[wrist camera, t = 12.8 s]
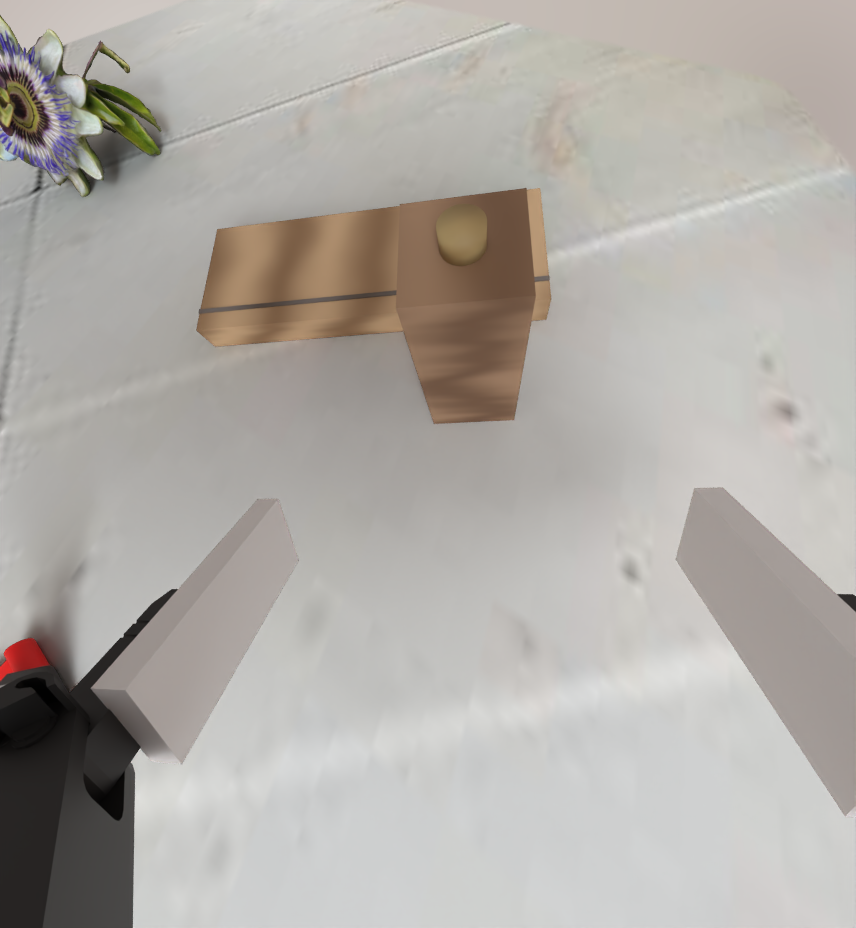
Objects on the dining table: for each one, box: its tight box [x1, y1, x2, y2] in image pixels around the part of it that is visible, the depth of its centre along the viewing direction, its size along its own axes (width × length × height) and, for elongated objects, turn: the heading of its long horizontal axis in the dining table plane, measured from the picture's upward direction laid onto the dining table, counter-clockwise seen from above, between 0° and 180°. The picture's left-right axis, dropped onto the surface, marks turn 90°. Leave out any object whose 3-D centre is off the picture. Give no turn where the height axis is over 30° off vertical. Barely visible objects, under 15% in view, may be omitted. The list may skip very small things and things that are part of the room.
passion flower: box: [0, 16, 161, 197], centre depth 34 cm, size 11×11×12 cm
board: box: [196, 188, 551, 347], centre depth 28 cm, size 24×9×2 cm, turn 90°
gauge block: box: [396, 188, 536, 424], centre depth 19 cm, size 5×5×12 cm
